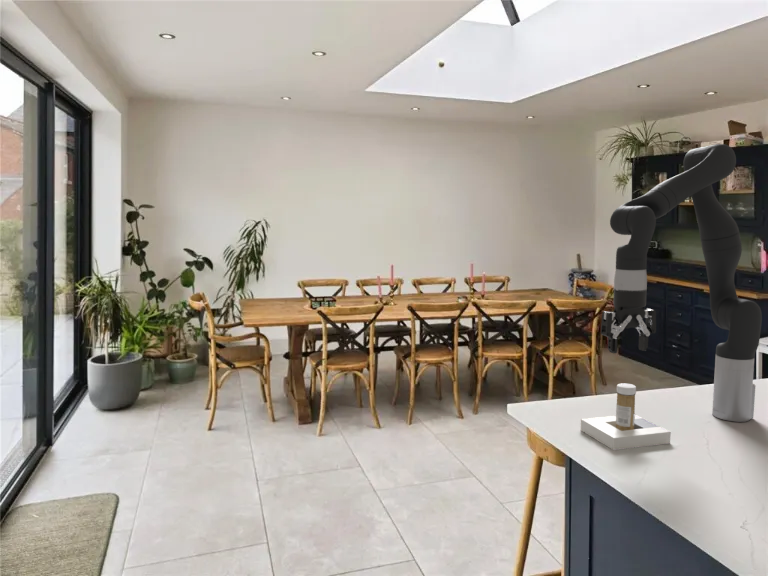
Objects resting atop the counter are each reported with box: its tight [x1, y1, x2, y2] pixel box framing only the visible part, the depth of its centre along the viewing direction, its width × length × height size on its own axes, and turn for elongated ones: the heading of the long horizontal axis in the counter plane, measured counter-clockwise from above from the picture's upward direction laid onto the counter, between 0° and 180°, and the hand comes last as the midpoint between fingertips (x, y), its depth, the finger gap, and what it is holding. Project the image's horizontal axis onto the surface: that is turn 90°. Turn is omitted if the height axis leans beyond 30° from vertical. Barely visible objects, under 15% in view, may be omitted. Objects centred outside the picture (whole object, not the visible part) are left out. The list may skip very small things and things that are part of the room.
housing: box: [580, 414, 672, 451], centre depth 151 cm, size 16×14×3 cm
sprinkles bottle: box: [615, 382, 637, 431], centre depth 151 cm, size 5×5×14 cm
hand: (627, 351), depth 149 cm, fingers open, 8 cm apart
